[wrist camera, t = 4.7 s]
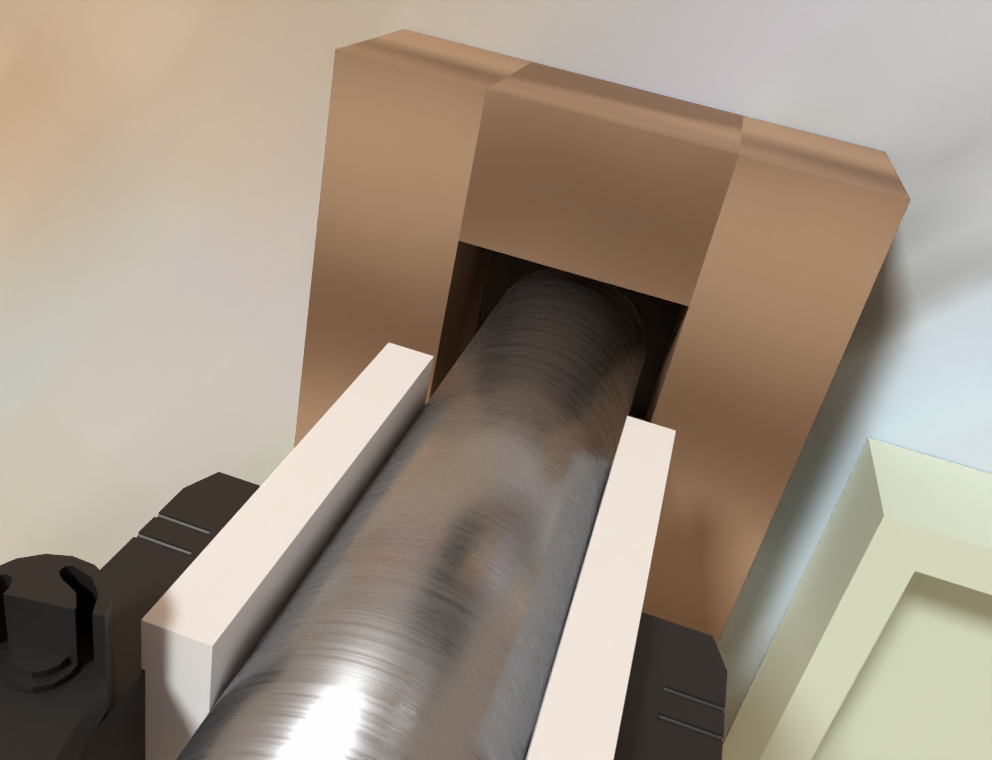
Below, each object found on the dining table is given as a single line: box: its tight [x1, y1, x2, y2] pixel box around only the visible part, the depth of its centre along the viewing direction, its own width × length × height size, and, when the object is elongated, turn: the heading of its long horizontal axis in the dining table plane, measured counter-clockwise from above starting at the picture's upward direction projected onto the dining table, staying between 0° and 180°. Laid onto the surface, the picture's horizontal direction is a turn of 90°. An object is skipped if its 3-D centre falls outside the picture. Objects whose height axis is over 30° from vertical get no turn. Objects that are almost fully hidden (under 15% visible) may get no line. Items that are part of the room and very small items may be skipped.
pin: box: [176, 268, 646, 760], centre depth 12 cm, size 4×4×14 cm
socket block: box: [294, 30, 910, 643], centre depth 19 cm, size 10×10×4 cm
